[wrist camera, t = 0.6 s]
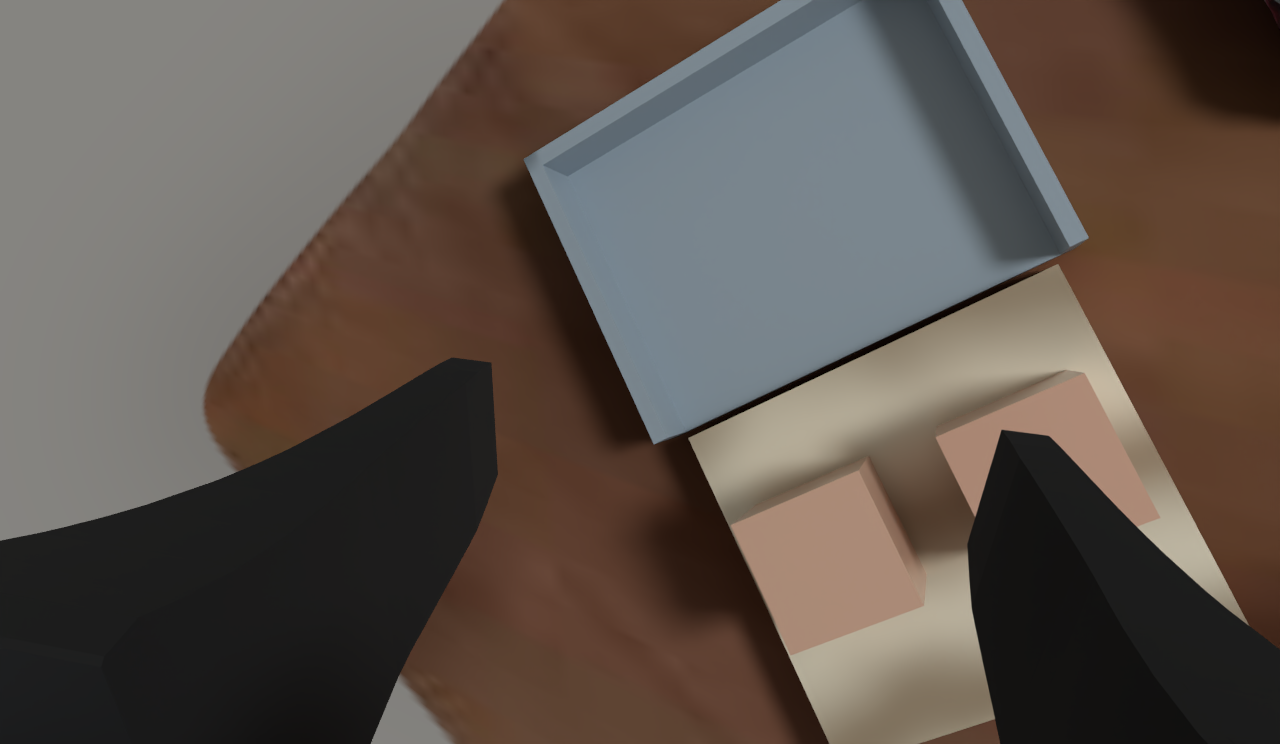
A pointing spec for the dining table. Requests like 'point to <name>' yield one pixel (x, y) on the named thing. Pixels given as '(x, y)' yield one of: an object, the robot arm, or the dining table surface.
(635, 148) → the tray
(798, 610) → the wooden cube
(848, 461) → the board
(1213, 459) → the dining table surface
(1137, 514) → the wooden cube
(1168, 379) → the dining table surface
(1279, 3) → the grey green pillow
